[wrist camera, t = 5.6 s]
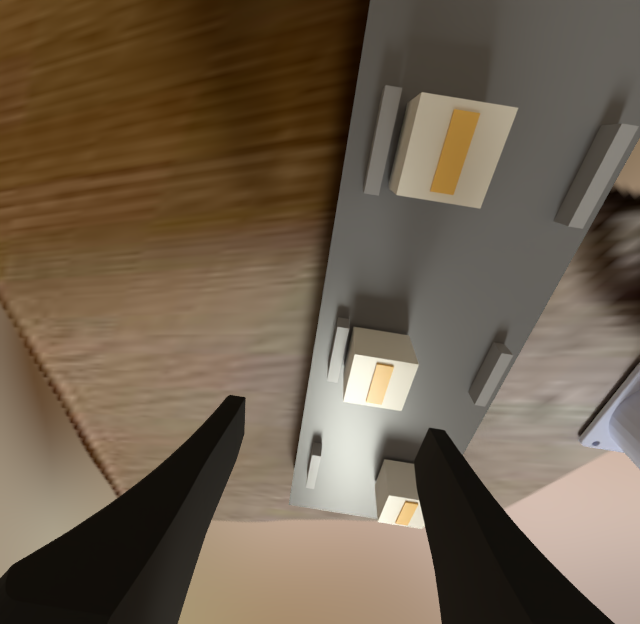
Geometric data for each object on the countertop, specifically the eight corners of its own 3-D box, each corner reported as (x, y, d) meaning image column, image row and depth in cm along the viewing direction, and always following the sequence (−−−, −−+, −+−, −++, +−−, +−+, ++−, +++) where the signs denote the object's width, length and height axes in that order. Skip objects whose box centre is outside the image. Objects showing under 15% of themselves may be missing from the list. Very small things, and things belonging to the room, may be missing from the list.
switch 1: (427, 466, 21) (437, 504, 19) (414, 491, 22) (422, 530, 20) (384, 459, 21) (389, 496, 19) (374, 485, 22) (377, 523, 20)
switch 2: (485, 115, 12) (520, 107, 9) (457, 198, 13) (481, 209, 11) (407, 102, 12) (422, 91, 9) (387, 187, 13) (396, 195, 11)
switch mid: (409, 335, 16) (419, 365, 14) (394, 378, 18) (401, 412, 15) (353, 326, 16) (354, 355, 14) (343, 370, 18) (343, 403, 15)
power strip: (645, 15, 12) (766, -39, 9) (415, 489, 27) (425, 540, 24) (374, -29, 12) (386, -101, 9) (294, 470, 27) (286, 517, 24)
